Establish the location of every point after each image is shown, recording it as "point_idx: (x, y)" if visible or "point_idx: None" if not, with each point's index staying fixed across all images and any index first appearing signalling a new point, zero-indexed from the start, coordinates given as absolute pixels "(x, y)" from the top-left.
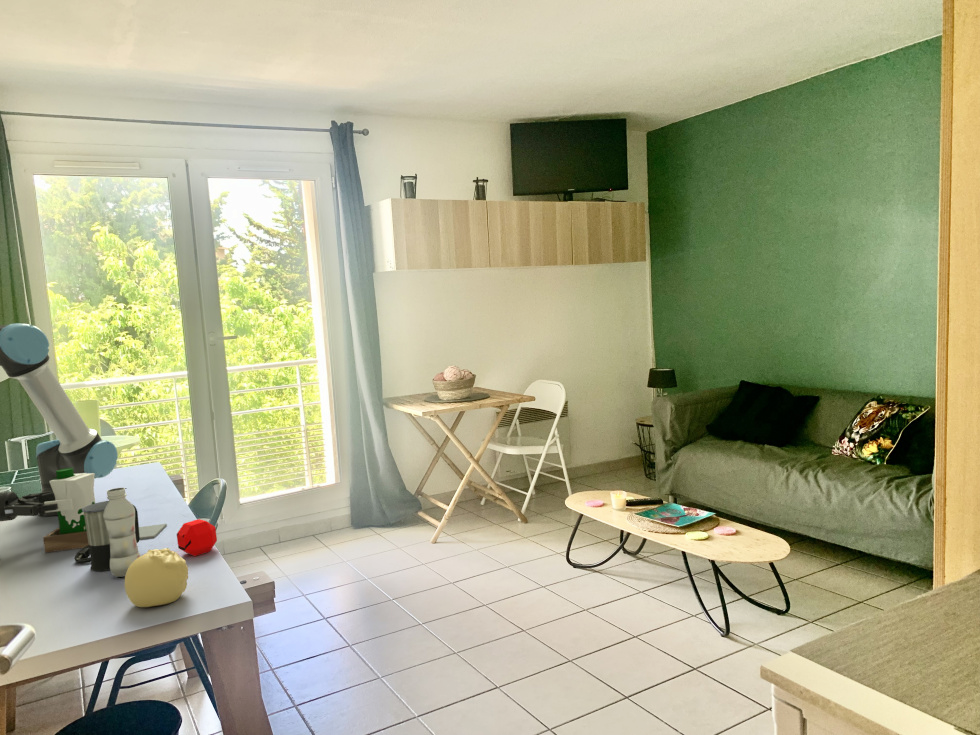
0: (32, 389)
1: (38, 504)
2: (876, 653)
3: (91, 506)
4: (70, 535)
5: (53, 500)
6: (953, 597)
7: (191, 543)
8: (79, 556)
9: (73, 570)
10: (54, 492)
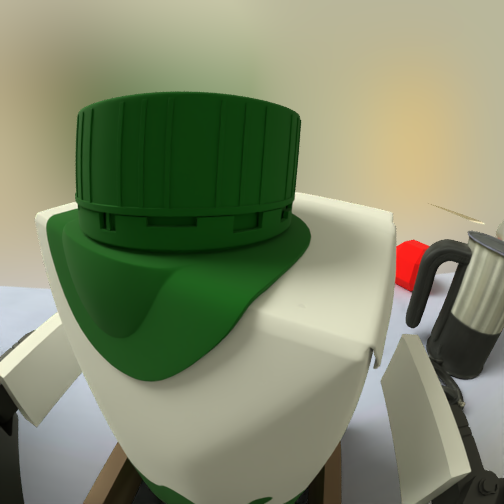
0: None
1: (496, 489)
2: (463, 216)
3: None
4: (339, 472)
5: (18, 496)
6: (434, 205)
7: None
8: (460, 400)
9: (483, 403)
10: (343, 428)
